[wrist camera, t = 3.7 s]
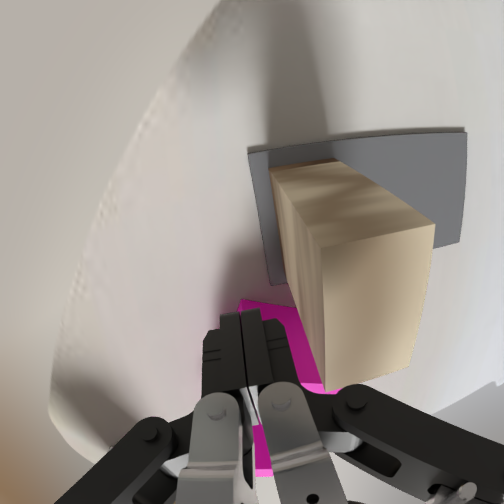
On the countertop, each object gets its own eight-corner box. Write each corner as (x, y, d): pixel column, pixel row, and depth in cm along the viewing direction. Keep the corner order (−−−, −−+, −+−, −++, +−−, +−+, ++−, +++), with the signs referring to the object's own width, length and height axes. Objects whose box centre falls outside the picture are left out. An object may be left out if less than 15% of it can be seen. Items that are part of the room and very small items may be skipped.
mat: (464, 131, 17) (467, 132, 17) (457, 240, 22) (459, 242, 21) (247, 153, 17) (248, 154, 17) (270, 283, 21) (271, 286, 21)
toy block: (240, 297, 22) (250, 379, 16) (319, 309, 23) (350, 384, 17) (204, 410, 29) (205, 474, 22) (262, 415, 30) (272, 476, 23)
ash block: (334, 157, 17) (435, 224, 9) (340, 259, 21) (408, 366, 12) (268, 168, 17) (320, 248, 9) (283, 270, 21) (325, 392, 12)
